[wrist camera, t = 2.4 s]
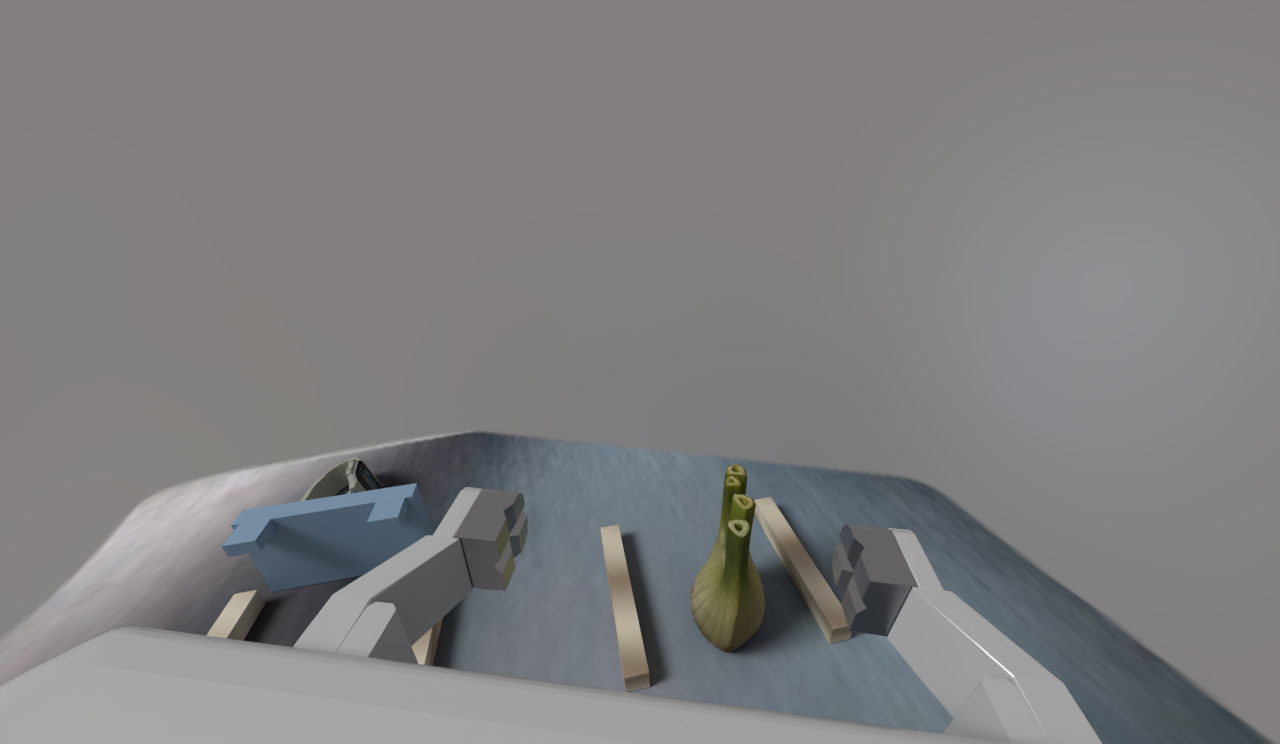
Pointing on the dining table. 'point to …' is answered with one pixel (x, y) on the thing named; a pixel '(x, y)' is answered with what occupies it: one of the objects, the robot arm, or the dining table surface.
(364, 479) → the wristwatch
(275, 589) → the blue notched panel
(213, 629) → the beige small bars
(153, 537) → the dining table surface
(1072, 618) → the dining table surface
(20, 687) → the robot arm
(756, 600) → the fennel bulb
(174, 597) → the dining table surface
